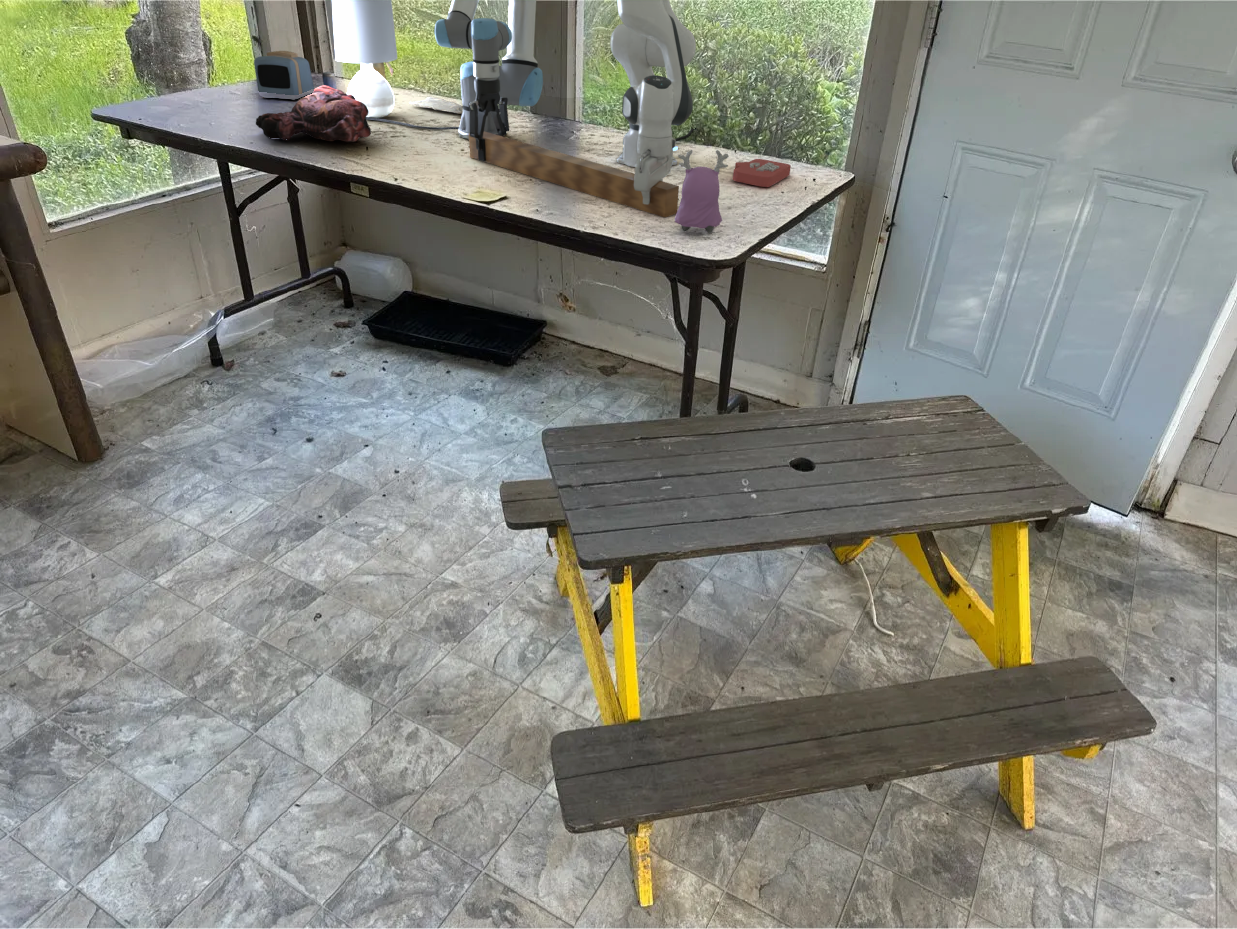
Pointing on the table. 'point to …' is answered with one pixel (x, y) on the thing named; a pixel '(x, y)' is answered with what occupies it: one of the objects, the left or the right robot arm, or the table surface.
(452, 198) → the table surface
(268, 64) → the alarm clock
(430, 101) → the stone tool
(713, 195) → the toy character
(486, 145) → the post
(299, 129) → the raw meat chunk
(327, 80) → the beverage can
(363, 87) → the lamp
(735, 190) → the table surface
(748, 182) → the plaque
